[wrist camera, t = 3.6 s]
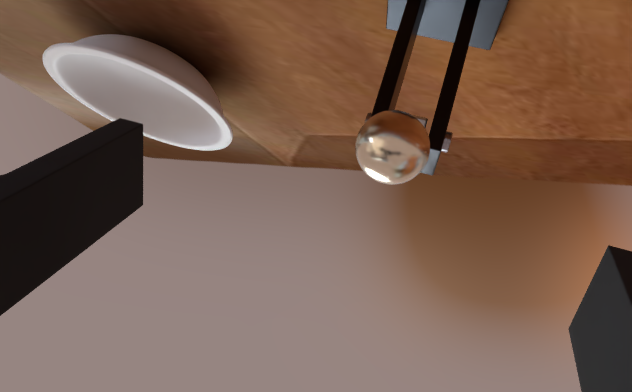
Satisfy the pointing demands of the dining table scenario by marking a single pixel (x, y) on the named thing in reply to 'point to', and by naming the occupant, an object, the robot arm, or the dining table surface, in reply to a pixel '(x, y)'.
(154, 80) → the soup bowl
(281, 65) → the dining table surface
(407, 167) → the ball-tipped metal rod
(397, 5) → the bracket
